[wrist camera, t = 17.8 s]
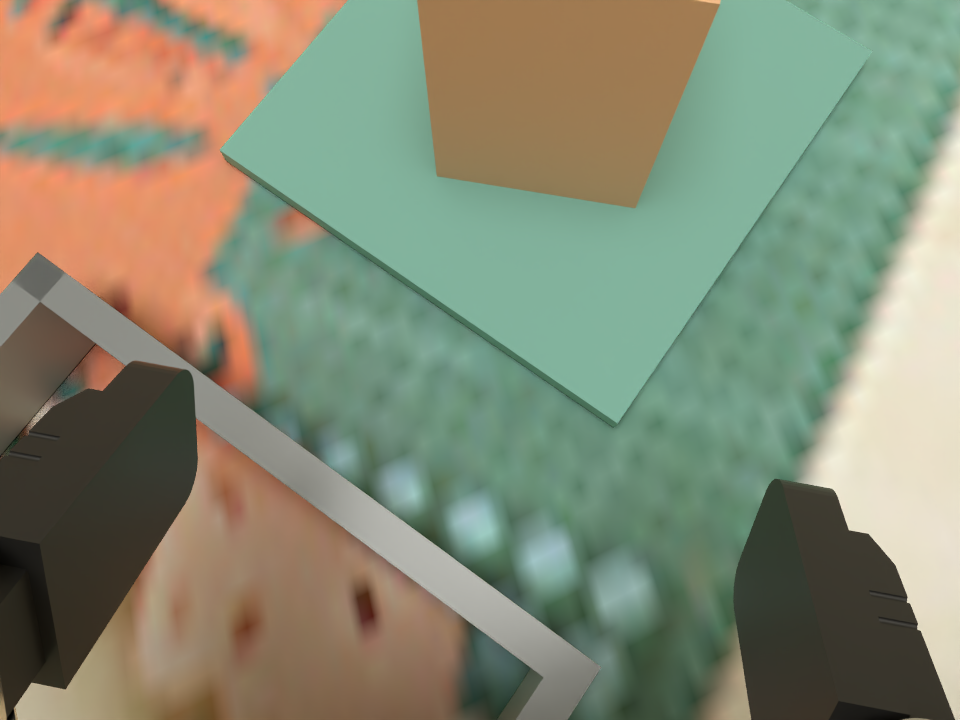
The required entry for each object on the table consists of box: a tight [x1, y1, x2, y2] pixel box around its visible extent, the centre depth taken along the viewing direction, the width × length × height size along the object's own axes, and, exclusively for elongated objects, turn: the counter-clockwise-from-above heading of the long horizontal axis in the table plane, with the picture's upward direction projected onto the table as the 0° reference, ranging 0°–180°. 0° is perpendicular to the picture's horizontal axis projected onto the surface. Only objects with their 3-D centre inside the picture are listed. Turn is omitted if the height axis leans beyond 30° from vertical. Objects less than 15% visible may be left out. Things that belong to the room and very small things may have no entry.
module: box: [417, 0, 721, 208], centre depth 19 cm, size 5×5×8 cm
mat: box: [220, 0, 872, 427], centre depth 23 cm, size 12×12×1 cm
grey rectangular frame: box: [0, 252, 601, 720], centre depth 18 cm, size 15×13×3 cm
